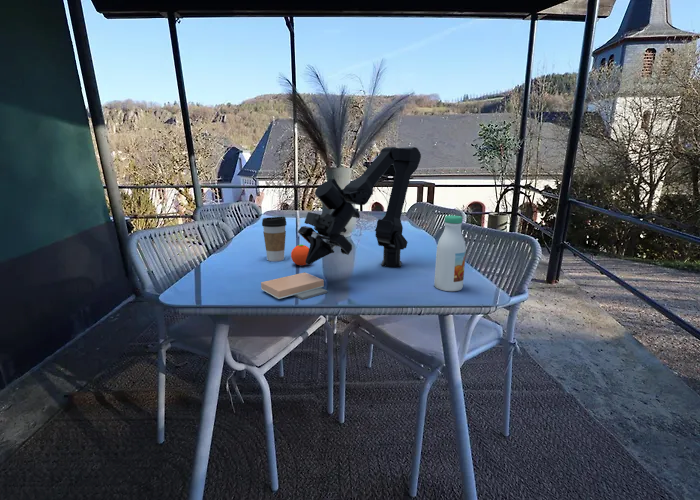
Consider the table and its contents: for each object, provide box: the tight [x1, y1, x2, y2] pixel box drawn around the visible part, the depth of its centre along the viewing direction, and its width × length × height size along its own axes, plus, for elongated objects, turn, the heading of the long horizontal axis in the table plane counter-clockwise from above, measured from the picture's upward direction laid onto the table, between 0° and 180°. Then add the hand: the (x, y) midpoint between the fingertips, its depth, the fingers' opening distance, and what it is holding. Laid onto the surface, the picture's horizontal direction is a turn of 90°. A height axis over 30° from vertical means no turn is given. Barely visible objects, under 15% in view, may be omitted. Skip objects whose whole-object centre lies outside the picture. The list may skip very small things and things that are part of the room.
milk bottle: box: [433, 215, 467, 292], centre depth 99 cm, size 8×8×20 cm
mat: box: [292, 287, 328, 301], centre depth 99 cm, size 8×15×1 cm, turn 41°
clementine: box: [290, 244, 310, 266], centre depth 121 cm, size 8×7×7 cm
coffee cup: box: [261, 216, 287, 262], centre depth 127 cm, size 8×8×15 cm
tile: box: [260, 271, 325, 300], centre depth 97 cm, size 2×9×14 cm
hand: (307, 263), depth 99 cm, fingers closed
